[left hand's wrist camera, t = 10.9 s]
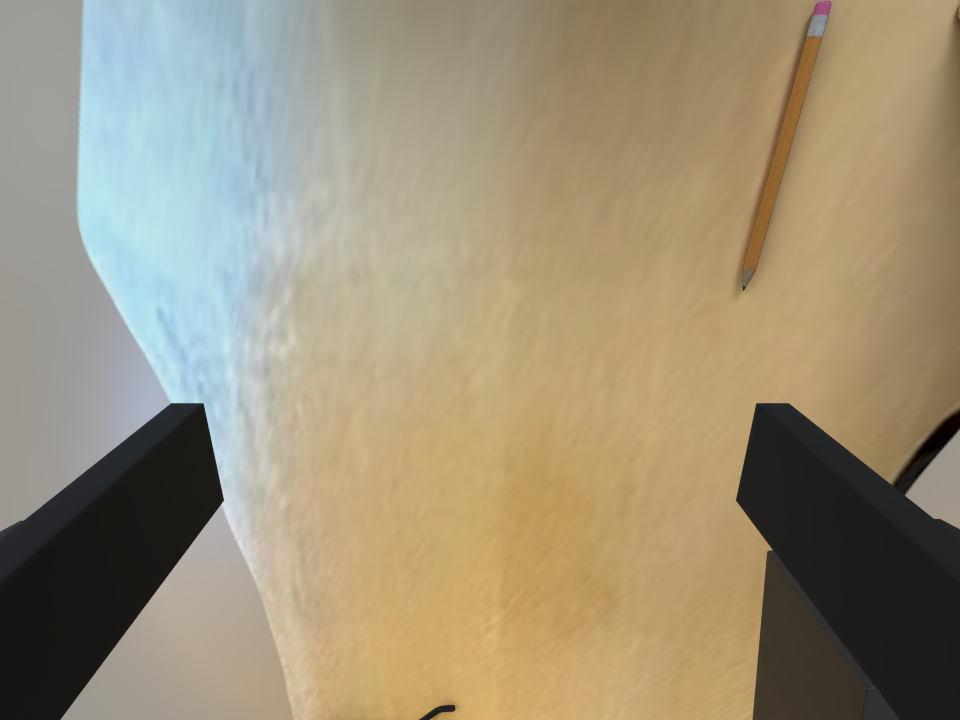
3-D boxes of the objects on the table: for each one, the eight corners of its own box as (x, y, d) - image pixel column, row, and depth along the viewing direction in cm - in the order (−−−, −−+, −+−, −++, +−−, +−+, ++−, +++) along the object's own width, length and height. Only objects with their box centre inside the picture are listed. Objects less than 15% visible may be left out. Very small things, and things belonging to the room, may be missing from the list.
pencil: (812, 2, 34) (733, 289, 41) (828, -1, 33) (745, 292, 40) (820, 5, 34) (741, 288, 41) (836, 2, 33) (752, 292, 40)
